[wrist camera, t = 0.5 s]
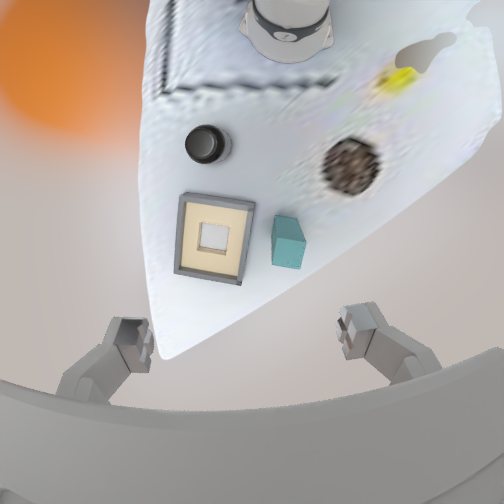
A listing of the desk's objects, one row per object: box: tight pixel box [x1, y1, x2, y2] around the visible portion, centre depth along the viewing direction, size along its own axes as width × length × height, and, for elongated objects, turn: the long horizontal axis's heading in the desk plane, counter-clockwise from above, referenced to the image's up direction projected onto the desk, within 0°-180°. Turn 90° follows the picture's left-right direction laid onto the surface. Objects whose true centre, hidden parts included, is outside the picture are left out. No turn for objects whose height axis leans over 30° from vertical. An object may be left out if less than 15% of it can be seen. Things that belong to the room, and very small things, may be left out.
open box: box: [174, 192, 255, 286], centre depth 56 cm, size 16×14×4 cm
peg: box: [271, 215, 306, 269], centre depth 49 cm, size 4×4×15 cm
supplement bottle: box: [185, 125, 232, 164], centre depth 46 cm, size 7×7×12 cm
